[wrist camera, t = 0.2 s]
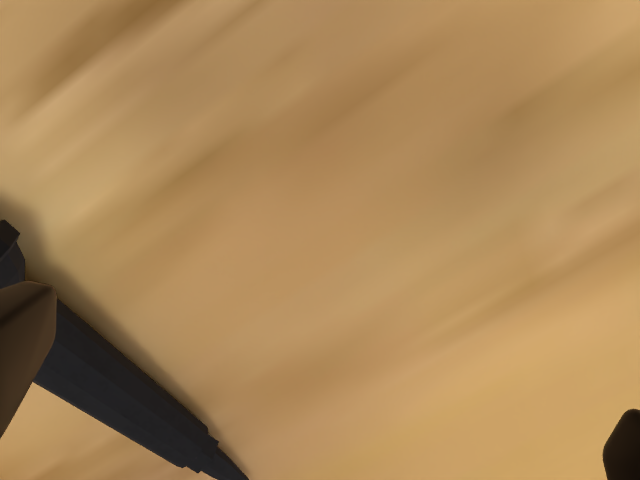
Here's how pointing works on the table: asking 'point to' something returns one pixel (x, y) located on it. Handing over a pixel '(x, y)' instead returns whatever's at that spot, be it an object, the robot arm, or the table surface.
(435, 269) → the table surface
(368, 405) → the table surface
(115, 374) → the microphone
